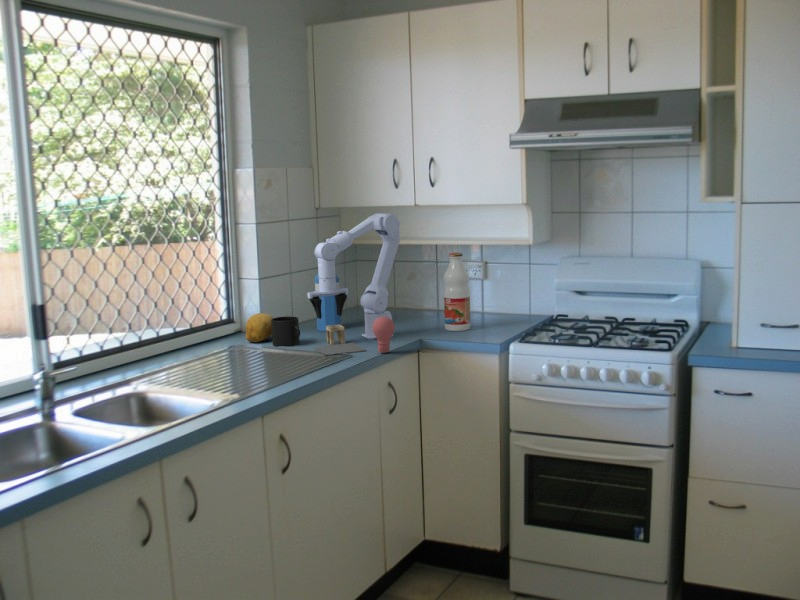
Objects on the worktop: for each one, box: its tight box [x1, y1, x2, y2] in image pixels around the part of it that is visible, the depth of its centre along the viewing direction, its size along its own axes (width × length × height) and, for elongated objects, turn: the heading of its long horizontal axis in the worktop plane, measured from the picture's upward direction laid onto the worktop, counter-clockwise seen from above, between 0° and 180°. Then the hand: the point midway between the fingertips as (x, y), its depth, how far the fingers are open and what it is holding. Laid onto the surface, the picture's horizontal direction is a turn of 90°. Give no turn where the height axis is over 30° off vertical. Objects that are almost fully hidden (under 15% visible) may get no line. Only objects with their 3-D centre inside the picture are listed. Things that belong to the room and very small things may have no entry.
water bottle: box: [314, 272, 342, 332], centre depth 321 cm, size 9×9×25 cm
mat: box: [313, 342, 368, 356], centre depth 284 cm, size 14×14×1 cm
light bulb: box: [373, 317, 396, 354], centre depth 275 cm, size 7×7×12 cm
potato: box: [245, 312, 274, 343], centre depth 304 cm, size 10×12×10 cm
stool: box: [325, 324, 346, 345], centre depth 295 cm, size 5×5×6 cm
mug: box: [271, 315, 301, 347], centre depth 295 cm, size 9×12×9 cm
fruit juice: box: [443, 252, 471, 332], centre depth 311 cm, size 9×9×28 cm
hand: (329, 316), depth 294 cm, fingers open, 7 cm apart
